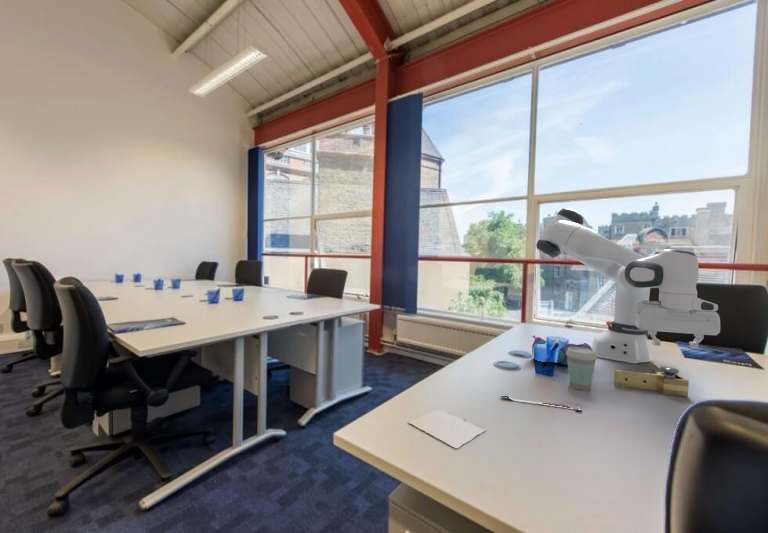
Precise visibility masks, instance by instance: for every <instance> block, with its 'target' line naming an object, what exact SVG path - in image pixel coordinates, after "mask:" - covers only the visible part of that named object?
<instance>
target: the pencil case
mask: <svg viewBox="0 0 768 533" xmlns="http://www.w3.org/2000/svg"><path fill="white" fill-rule="evenodd" d="M532 338H534V341H533V342H532V344H531V354H532V355H533V347H534V345H535V344H545V343H546V341H547V340H545V339H543V338H541V337H540V336H537V337H536V335H535V334H534V335H532ZM563 344H564V345H562V347H561V349H560V350H559V354H558V360H557V361H558V363H561V364H560V365H564V366H566V367H568V362H567V355H566V351H567V350H568V348H569V347H583V348H588V349H591V347H590V346H591V344H590V345H589V344H588V343H586V342H584V343H580V344H576V343H575V344H574V343H563ZM591 350H592V349H591ZM558 363H557V364H558Z"/></svg>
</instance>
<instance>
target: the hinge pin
mask: <svg viewBox="0 0 768 533" xmlns="http://www.w3.org/2000/svg"><path fill="white" fill-rule="evenodd" d="M660 370H661V371H663V375H664V376H665V377H666V378H675V374H680V370H679V369H678V368H676V367H673V366H667V365H666V366H665V365H662V366H660Z"/></svg>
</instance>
